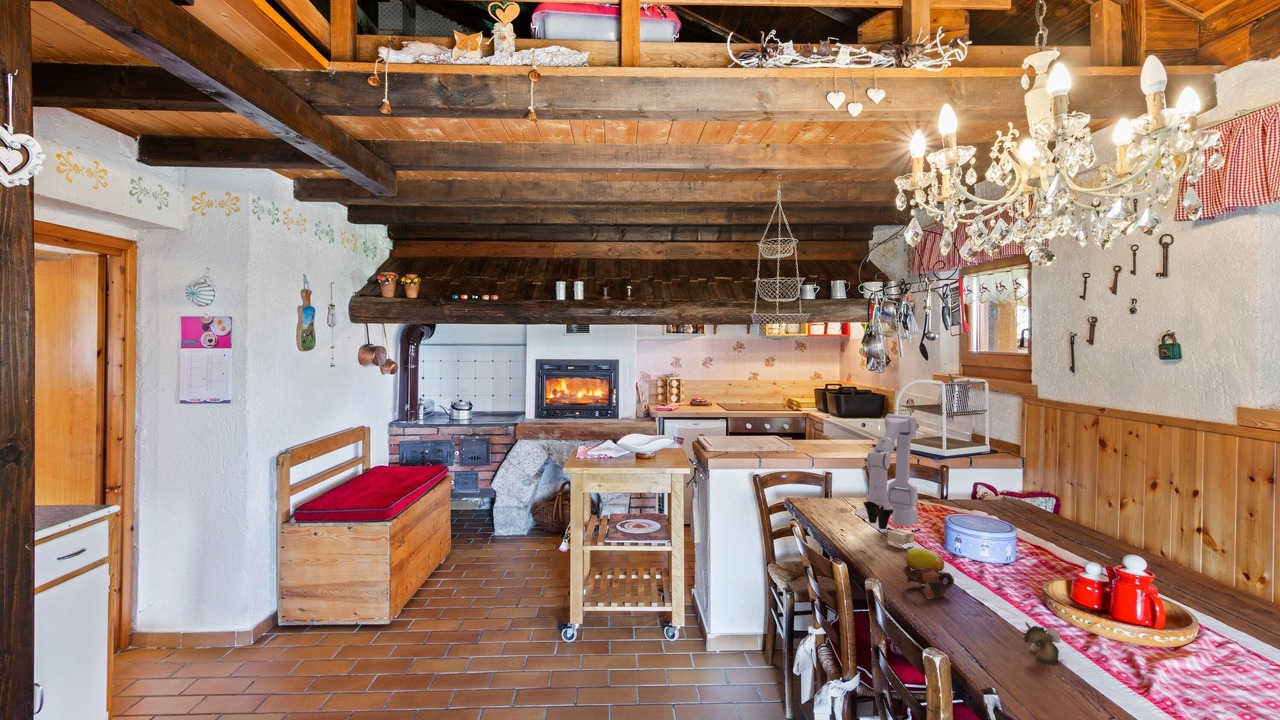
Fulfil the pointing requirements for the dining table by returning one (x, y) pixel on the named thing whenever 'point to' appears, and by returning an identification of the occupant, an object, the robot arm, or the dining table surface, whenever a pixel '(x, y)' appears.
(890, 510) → the robot arm
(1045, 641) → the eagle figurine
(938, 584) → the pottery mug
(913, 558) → the fruit
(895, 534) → the ash block
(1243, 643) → the dining table surface
